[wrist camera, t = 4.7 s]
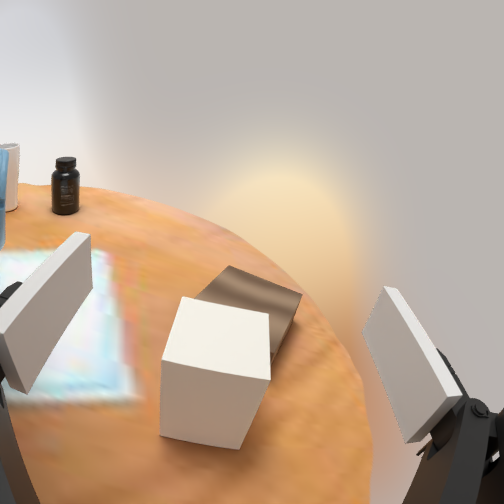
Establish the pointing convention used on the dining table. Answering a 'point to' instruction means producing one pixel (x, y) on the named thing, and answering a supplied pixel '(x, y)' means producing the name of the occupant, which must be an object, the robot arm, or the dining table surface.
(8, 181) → the drinking glass
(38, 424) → the dining table surface
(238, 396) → the upright white rectangular block
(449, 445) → the robot arm
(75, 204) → the supplement bottle
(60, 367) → the dining table surface
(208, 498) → the dining table surface
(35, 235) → the dining table surface
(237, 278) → the walnut stand
